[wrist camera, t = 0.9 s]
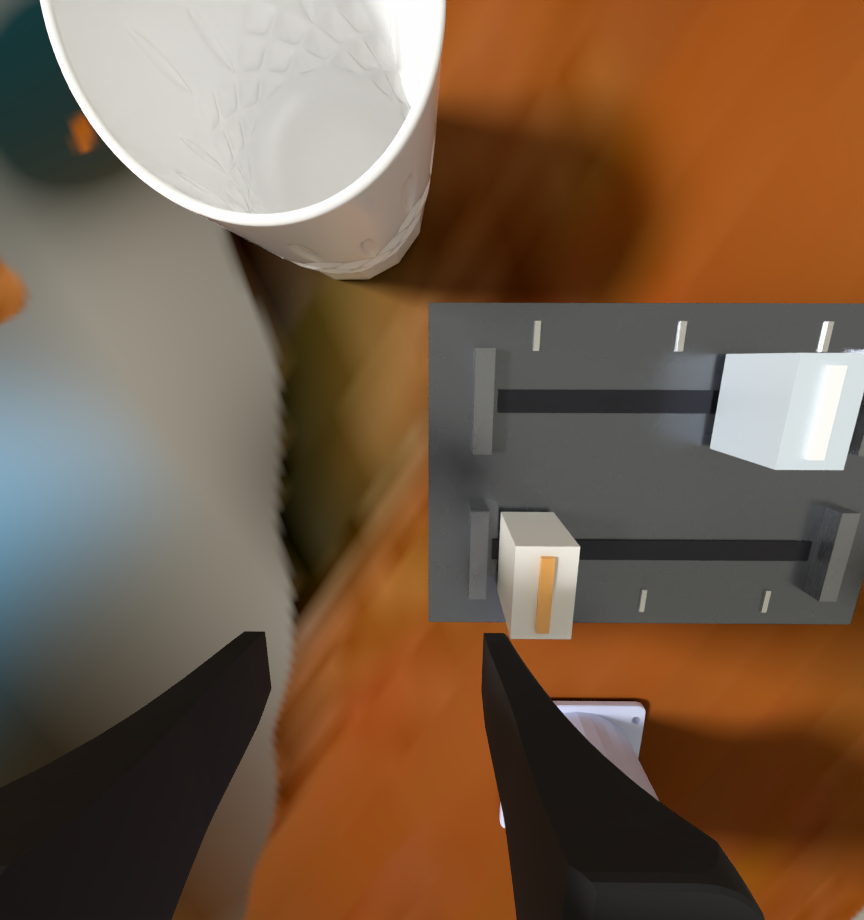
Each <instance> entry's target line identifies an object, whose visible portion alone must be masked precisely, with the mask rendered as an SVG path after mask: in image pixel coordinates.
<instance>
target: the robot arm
mask: <svg viewBox="0 0 864 920" xmlns="http://www.w3.org/2000/svg"><path fill="white" fill-rule="evenodd" d="M270 691H271V681H270V672H269V664H268V655H267V646H266V637H265V632H243V633H242V634H241V635H239V636H238V637H237V638H235V639H234V640H233V641H231V642H230V643H229V644H227V645H226V646H225V647H224V648H222V649H221V650H220V651H219V652H217V653H216V654H215V655H213V656H212V657H211V658H210V659H208V660H207V661H206V662H204V663H203V664H202V665H200V666H199V667H198V668H197V669H195V670H194V671H193V672H191V673H190V674H189V675H187V676H186V677H185V678H183V679H182V680H181V681H179V682H178V683H177V684H175V685H174V686H172V687H171V688H170V689H168V690H167V691H165V692H164V693H163V694H161V695H160V696H158V697H157V698H156V699H154V700H153V701H151V702H150V703H149V704H147V705H146V706H144V707H143V708H141V709H140V710H138V711H137V712H135V713H134V714H132V715H131V716H129V717H128V718H126V719H125V720H123V721H121V722H120V723H118V724H116V725H115V726H113V727H112V728H110V729H108V730H107V731H105V732H104V733H102V734H100V735H99V736H97V737H95V738H94V739H92V740H90V741H88V742H86V743H85V744H83V745H81V746H79V747H77V748H76V749H74V750H72V751H70V752H68V753H67V754H65V755H63V756H61V757H59V758H58V759H56V760H54V761H52V762H50V763H49V764H47V765H45V766H43V767H41V768H39V769H37V770H35V771H33V772H31V773H29V774H27V775H25V776H23V777H21V778H19V779H17V780H15V781H13V782H11V783H9V784H7V785H5V786H3V787H1V788H0V920H171V919H172V917H173V914H174V911H175V909H176V906H177V904H178V901H179V898H180V896H181V893H182V891H183V888H184V885H185V882H186V880H187V877H188V875H189V872H190V870H191V867H192V865H193V863H194V860H195V858H196V855H197V853H198V850H199V848H200V845H201V842H202V840H203V838H204V835H205V833H206V830H207V828H208V826H209V824H210V822H211V820H212V817H213V815H214V813H215V811H216V809H217V807H218V805H219V803H220V801H221V799H222V797H223V795H224V793H225V791H226V789H227V787H228V785H229V783H230V781H231V779H232V777H233V775H234V773H235V771H236V769H237V767H238V765H239V763H240V761H241V759H242V757H243V755H244V753H245V751H246V749H247V747H248V745H249V743H250V741H251V738H252V736H253V735H254V732H255V730H256V728H257V726H258V724H259V721H260V719H261V716H262V713H263V711H264V708H265V705H266V702H267V699H268V696H269V694H270ZM482 700H483V710H484V720H485V728H486V733H487V738H488V743H489V748H490V753H491V758H492V763H493V768H494V773H495V777H496V782H497V787H498V792H499V797H500V824H501V826H502V827H504V828H505V829H506V835H507V843H508V851H509V859H510V867H511V875H512V883H513V891H514V900H515V908H516V917H517V920H765V919H764V916H763V913H762V911H761V910H760V908H759V906H758V905H757V903H756V901H755V899H754V898H753V896H752V894H751V893H750V891H749V889H748V888H747V886H746V884H745V883H744V881H743V880H742V878H741V876H740V875H739V873H738V872H737V870H736V869H735V867H734V866H733V864H732V863H731V862H730V860H729V859H728V857H727V856H726V855H725V853H724V852H723V850H722V849H721V847H720V846H719V844H718V843H717V842H716V841H715V840H713V839H712V838H711V837H709V836H708V835H706V834H705V833H703V832H702V831H700V830H699V829H698V828H696V827H695V826H693V825H692V824H690V823H689V822H687V821H686V820H684V819H683V818H682V817H680V816H679V815H677V814H676V813H674V812H673V811H671V810H670V809H669V808H667V807H666V806H665V805H663V804H662V803H661V802H660V801H659V799H658V797H657V795H656V793H655V791H654V789H653V787H652V786H651V784H650V782H649V780H648V778H647V776H646V774H645V772H644V770H643V768H642V766H641V764H640V762H639V760H638V757H639V751H640V745H641V739H642V733H643V727H644V720H645V714H646V711H645V709H644V707H643V705H642V704H641V703H640V702H636V701H552V700H551V698H550V697H549V696H548V695H547V693H546V692H545V691H544V690H543V688H542V687H541V686H540V684H539V683H538V682H537V680H536V679H535V678H534V676H533V675H532V674H531V672H530V671H529V669H528V668H527V666H526V665H525V664H524V662H523V661H522V659H521V658H520V656H519V655H518V653H517V652H516V650H515V648H514V647H513V645H512V644H511V642H510V640H509V638H508V637H507V636H506V635H505V634H504V633H484V640H483V665H482ZM634 717H636V718H634Z"/></svg>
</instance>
